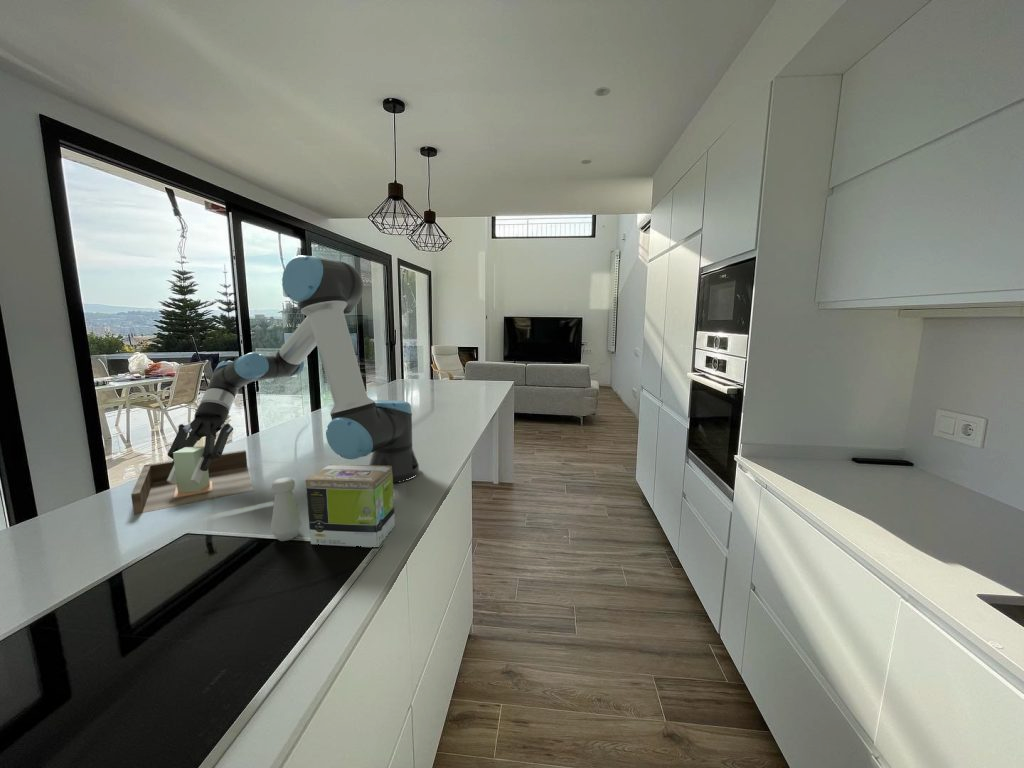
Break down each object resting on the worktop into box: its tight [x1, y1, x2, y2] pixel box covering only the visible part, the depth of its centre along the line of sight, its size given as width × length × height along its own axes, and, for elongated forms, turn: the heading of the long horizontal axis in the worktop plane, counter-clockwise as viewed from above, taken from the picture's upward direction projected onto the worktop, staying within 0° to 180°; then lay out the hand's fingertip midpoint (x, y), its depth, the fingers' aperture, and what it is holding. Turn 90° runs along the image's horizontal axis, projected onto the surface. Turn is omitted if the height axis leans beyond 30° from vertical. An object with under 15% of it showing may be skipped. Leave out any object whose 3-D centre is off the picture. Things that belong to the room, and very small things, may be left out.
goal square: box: [174, 481, 212, 498], centre depth 111 cm, size 8×8×1 cm
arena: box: [130, 449, 255, 515], centre depth 113 cm, size 24×24×6 cm
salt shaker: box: [270, 477, 302, 542], centre depth 88 cm, size 6×6×13 cm
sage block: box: [173, 445, 210, 493], centre depth 110 cm, size 5×5×11 cm
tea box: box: [305, 463, 396, 548], centre depth 89 cm, size 15×10×15 cm
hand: (183, 482), depth 106 cm, fingers closed on sage block, 5 cm apart
